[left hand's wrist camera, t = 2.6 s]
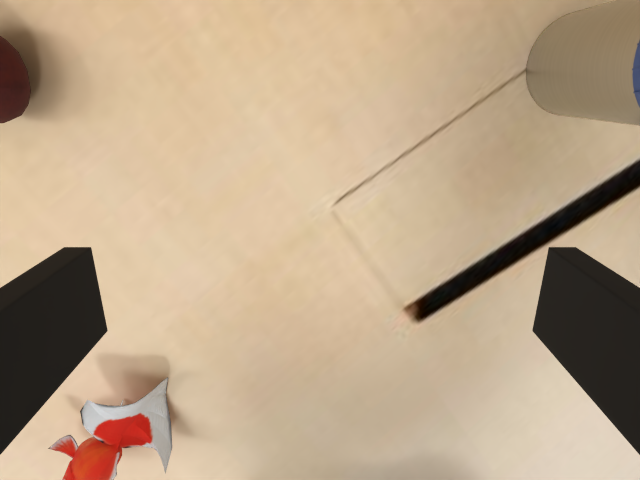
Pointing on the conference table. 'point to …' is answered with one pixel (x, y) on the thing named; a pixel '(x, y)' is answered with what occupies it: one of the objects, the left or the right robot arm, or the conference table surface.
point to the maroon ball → (12, 83)
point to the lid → (637, 74)
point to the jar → (588, 64)
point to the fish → (118, 435)
